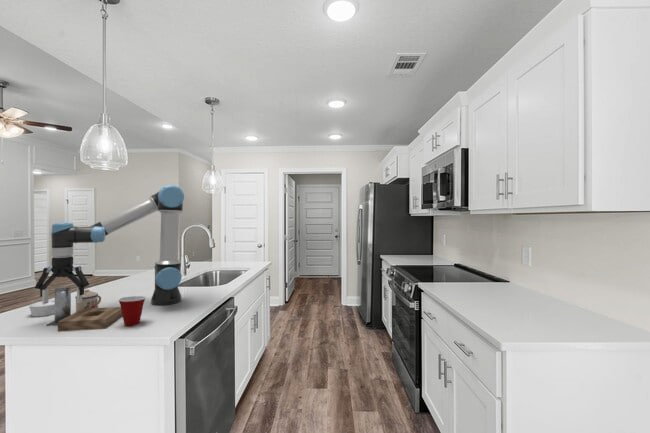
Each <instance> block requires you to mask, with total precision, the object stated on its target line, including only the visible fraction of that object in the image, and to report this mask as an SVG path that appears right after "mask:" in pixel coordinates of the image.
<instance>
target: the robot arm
mask: <svg viewBox="0 0 650 433" xmlns="http://www.w3.org/2000/svg"><path fill="white" fill-rule="evenodd" d="M184 200H185V194H184V192H183V190H182V189H181V188H180V187H179V186H177V185H174V184H167V185H163V187H161V188H160V189H159V191H158V192H156V193H155V194H153V195H152V194H151V195H150V196H149V198H148V199H146V200H144V201H141V202H139V203H137V204H136V205H135V204H134V205H133V206H131V207H129V208H127V209H124V210H122V211H120V212H118V213H116V214H113V215H112V216H110V217H107V218H105V219H103V220H100V221H98V222H97V223H94V224H92V225H90V226H74V223H72V222H54V223H53V224H52V225H51V232H50V234H51V257H52V258H51V267H50V266H47V267H44V268H42V269H43V271H42V274H41V276H40V277H39V279H38V281H37V283H36V284H35V286H34V288H35V289H36V290H39V291H40V292H39V294H40V297H41V299H42V300H41V302H42V305H45V304H47V303H48V301H49V288H48V287H49V286H50V284H51V283H53V282H54V280H55V279H56V278H68V279H69V280H70V281H71V282H72V283H73V284H74V285H75V286H76V287H77V288H76V296H77V303H80V302H82V295H84V290H85V288H86V287H88V286H90V283H89V281H88V279H87V277H86V276H85V274H84V273H83V271H82V266H79V265H78V266H75V267H74V256H73V255H74V244H79V243H81V244H84V243H85V244H87V243H89V244H90V243H91V244H92V243H93V244H94V243H95V244H97V243H103V242H105V240H106V237H107V236H108V235H110V234H112V233H114V232H116V231H118V230H121V229H122V228H125V227H127V226H129V225H131V224H134V223H135V222H136V221H139V220H141V219H144V218H146V217H147V216H150V215H152V214H153V213H156V212H159V213H160V232H159V233H160V234H159V235H160V239H159V240H160V241H159V242H160V243H159V260H158V261H156V262H155V263H154V290H153V293H152V296H151V298H150V304H151V305H153V306H167V305H172V304H173V305H174V304H177V303H179V302H181V301H182V294H181V291H180V289H179V285H180V283H181V281H182V276H183V275H182V273H181V271H182V270H181V267H182V266H181V265H182V261H180V259H179V239H180V238H179V233H180V232H179V231H180V214H181V213H182V212H183V211H184V210H183V205H184V204H183V203H184ZM74 272H75V273H74ZM50 273H52V274H50ZM49 274H50V276H49ZM48 276H49V277H48ZM47 278H48V279H47ZM46 279H47V280H46Z"/></svg>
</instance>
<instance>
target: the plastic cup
mask: <svg viewBox="0 0 650 433" xmlns="http://www.w3.org/2000/svg"><path fill="white" fill-rule="evenodd" d="M146 299H147V296H144V295H132V296H131V295H130V296H124V297H121V298H118V299H117V300H118V302H119V307H121V311H122V319H123V324H124V326H125V327H133V326H137V325H139V324H140V323H141V318H142V314H143V313H142V312H143V307H144V304H145V300H146Z"/></svg>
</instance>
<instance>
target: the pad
mask: <svg viewBox="0 0 650 433" xmlns="http://www.w3.org/2000/svg"><path fill="white" fill-rule="evenodd" d="M50 325H53V326H58V323H55V319H54V320H53V321H51V322H49V323H47V324H46V327H51V326H50Z"/></svg>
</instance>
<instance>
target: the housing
mask: <svg viewBox="0 0 650 433" xmlns="http://www.w3.org/2000/svg"><path fill="white" fill-rule="evenodd" d="M121 318H123V316H122V311H121V306H115V307H112V306H111V307H98V308H89V309H81V310H80V311H78V312H76V311H75V312H73V313H72V314H71V315H70V316H68V317H66V318H64V319H62V320H60V321H58V325H57V332H65V331H67V332H69V331H84V330H101V329H108V327H110V326H111V325H112V324H114V323H115V322H117V321H118V320H119V319H121Z"/></svg>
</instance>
